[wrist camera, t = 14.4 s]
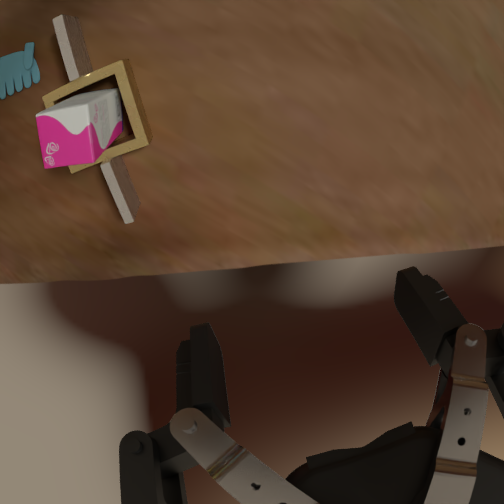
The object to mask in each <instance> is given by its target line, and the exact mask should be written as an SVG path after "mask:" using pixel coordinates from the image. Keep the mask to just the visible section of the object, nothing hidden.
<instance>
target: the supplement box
mask: <svg viewBox="0 0 504 504" xmlns="http://www.w3.org/2000/svg"><path fill="white" fill-rule="evenodd" d="M36 121H37V128H38V134H39V141H40V146H41V152H42V158H43V163H44V168H45V169H47V168H54V167H61V166H70V165H79V164H89V163H94V162H95V161H96V160H97V159H98V158H99V157H100V155H101V154H102V153H103V152H104V151H105V150H106V149H107V148H108V147H109V145H110V144H111V143H112V142H113V141H114V140H115V139H116V138H117V137H118V136H119V135H120V134H121V133H122V132H123V116H122V101H121V92H120V89H119V88H113V89H105V90H98V91H92V92H86V93H80V94H77V95H75V96H73V97H71V98H69V99H66V100H64V101H62V102H60V103H58V104H56V105H54V106H52V107H50V108H48V109H45V110H44V111H42V112H40V113H38V114H36Z"/></svg>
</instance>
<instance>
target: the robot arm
mask: <svg viewBox="0 0 504 504" xmlns="http://www.w3.org/2000/svg"><path fill="white" fill-rule="evenodd" d="M394 302H395V306H396V308H397V310H398V312H399V314H400V315H401V317H402V318H403V320H404V322H405V323H406V325H407V327H408V328H409V330H410V332H411V333H412V335H413V337H414V339H415V340H416V342H417V344H418V346H419V347H420V349H421V351H422V353H423V354H424V356H425V358H426V360H427V362H428V363H429V365H430V366H433V365H435V364H437V363H439V365H440V366H441V369H440V372H439V377H438V382H437V387H436V392H435V397H434V402H433V406H432V410H431V412H430V414H429V417H428V420H427V422H426V426H415V427H413V424H412V422H409V423H407V424H404V425H402V426H399V427H397V428H394V429H392V430H389V431H387V432H385V433H384V434H383V435H381V436H380V437H378V438H377V439H375V440H374V441H372V442H371V443H369V444H367V445H366V446H364V447H361V448H350V449H337V450H331V451H327V452H324V453H320V454H317V455H313V456H309V457H306V459H307V463H305V464H303V465H301V466H299V467H298V468H296V469H295V470H294V471H293V472H292V473H290V474H289V475H288V477H287V478H286V479H284V478H282V477H281V476H279V475H278V474H277V473H275V472H274V471H273V470H272V469H270V468H269V467H268V466H266V465H265V464H264V463H262V462H261V461H260V460H258V459H257V458H256V457H255V456H254V455H252V454H251V453H250V452H249V451H247V450H246V449H245V448H243V447H242V446H240V445H238V444H237V443H236V442H235V441H234V440H232V439H231V438H230V437H229V436H228V435H227V434H226V433H224V428H225V427H230V426H231V422H230V414H229V406H228V398H227V390H226V382H225V373H224V364H223V356H222V351H221V348H220V345H219V343H218V341H217V338H216V336H215V334H214V332H213V330H212V328H211V326H210V324H209V323H208V322H207V323H203V324H199V325H194V326H191V327H190V340H186V341H182V342H181V343H180V346H179V348H178V350H177V352H176V354H177V355H176V356H177V357H176V364H177V366H176V373H177V375H176V378H177V379H176V385H177V386H176V389H177V390H176V391H177V409H176V413H175V415H174V416H173V418H172V419H171V421H170V422H169V423H168V424H167V425H165V426H163V427H162V428H159V429H157V430H155V431H153V432H151V433H148V434H146V433H145V432H142V431H132V432H129V433H128V434H126V435H125V436H124V437H123V438H122V440H121V442H120V446H119V462H120V488H121V504H187V497H186V490H185V483H184V477H183V471H185V470H187V469H190V468H192V467H194V466H196V465H198V464H200V465H201V466H202V467H203V468H204V469H206V470H207V472H208V473H209V474H210V476H211V477H212V478H214V479H215V481H216V482H217V483H219V484H220V485H221V486H222V487H223V488H224V489H225V490H226V491H227V492H228V493H230V494H231V495H232V496H233V497H234V498H235V499H236V500H238V501H239V502H240V503H241V504H504V461H503V460H501V459H499V458H496V457H494V456H492V455H490V454H488V453H486V452H484V451H482V450H479V449H480V444H481V439H482V433H483V428H484V421H485V415H486V407H487V399H488V389H490V391H491V393H492V395H493V397H494V399H495V401H496V403H497V405H498V407H499V409H500V412H501V414H502V416H503V418H504V323H503V325H502V327H501V328H500V329H492V330H483V329H482V328H480V327H479V326H477V325H475V324H469V323H468V322H467V321H466V319H465V318H464V317H463V316H462V314H461V313H460V311H459V310H458V308H457V307H456V306H455V304H454V303H453V302H452V300H451V299H450V298H449V297H448V295H447V294H446V292H445V291H443V288H442V287H441V286H440V284H439V283H438V282H437V281H436V280H435V279H433V278H431V277H430V276H428V275H424V276H422V274H421V273H420V272H419V271H418V269H417V268H416V267H410V268H407V269H404V270H400V271H398V273H397V277H396V285H395V292H394ZM484 379H485V381H486V382H485V381H484Z"/></svg>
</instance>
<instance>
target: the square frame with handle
mask: <svg viewBox="0 0 504 504" xmlns="http://www.w3.org/2000/svg"><path fill="white" fill-rule="evenodd" d="M53 24H54V28H55V32H56V35H57V39H58V43H59V47H60V50H61V54H62V57H63V61H64V64H65V67H66V71H67V74H68V77H69V80H70V81H72V82H70V83H68V84H66V85H64V86H62V87H60V88H58V89H56V90H54V91H52V92H50V93H48V94H47V95H45V96H43V97H42V98H43V101H44V104H45V107H46V109H48V108H50V107H52V106H54V105H56V104H58V103H60V102H62V101H64V100H65V96H67V95H69V94H71V93H73V92H76V91H78V90H80V89H82V88H84V87H86V86H89V85H91V84H93V83H95V82H98V81H100V80H103V79H105V78H107V77H110V76H112V75H115V76H116V79H117V83H118V86H119V89H120V92H121V95H122V99H123V102H124V105H125V108H126V111H127V114H128V117H129V120H130V123H131V126H132V129H133V132H134V134H132V135H129V136H126V137H123V138H121V139H118V140H115V141H113V142H112V143H111V144H110V145H109V147H108V148H107V149H106V150H105V151H104V152H103V153H102V154H101V155H100V157H99V158H98V159H97V160H96V161H95V162H94V163H89V164H79V165H70V166H68V167H69V169H70V172H71V174H72V173H75V172H77V171H80V170H82V169H84V168H87V167H89V166H92V165H94V164H97V163H100V162H102V161H103V162H102V164H101V165H100V167H101V169H102V172H103V174H104V176H105V179H106V181H107V184H108V186H109V188H110V191H111V193H112V195H113V198H114V200H115V202H116V204H117V207H118V209H119V211H120V213H121V216H122V218H123V220H124V222H125V224H128V223H131V222H134V220H135V217H136V214H137V211H138V208H139V205H140V201H139V198H138V196H137V193H136V191H135V188H134V186H133V183H132V181H131V178H130V176H129V173H128V170H127V168H126V165H125V163H124V160H123V157H122V155H121V154H124V153H127V152H129V151H132V150H135V149H138V148H141V147H144V146H147V145H149V144H150V142H151V140H152V138H153V135H152V132H151V129H150V126H149V123H148V119H147V116H146V113H145V110H144V107H143V104H142V100H141V97H140V94H139V91H138V87H137V84H136V81H135V78H134V74H133V71H132V67H131V64H130V60H129V59H125V60H120V61H118V62H115V63H113V64H110V65H108V66H105V67H103V68H101V69H98V70H96V71H94V72H93V69H92V66H91V62H90V59H89V55H88V52H87V48H86V45H85V41H84V38H83V34H82V30H81V26H80V23H79V19H78V17H74V16H69V15H64V14H61V15H60V16H58V17H56V18H54V19H53Z"/></svg>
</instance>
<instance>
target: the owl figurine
mask: <svg viewBox="0 0 504 504" xmlns="http://www.w3.org/2000/svg"><path fill="white" fill-rule="evenodd" d="M33 55H34V42H29V43H26V44H25V49H24V51H19V52H15V53H12V54H9V55H6V56H3V57H1V58H0V98H1V99H4V98H5V97H6V88H7V93H8V95H13V93H14V83H15V88H16V91H17V92H20V91H21V90H22V88H23V82H24V86H25V87H26V88H29V87H30V86H31V84H32V80H31V74H32V79H33V82H34V83H38V82H39V81H40V73H39V69H38V66H37V63H36V60H35V59H34V58H33ZM22 77H23V80H22Z"/></svg>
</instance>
